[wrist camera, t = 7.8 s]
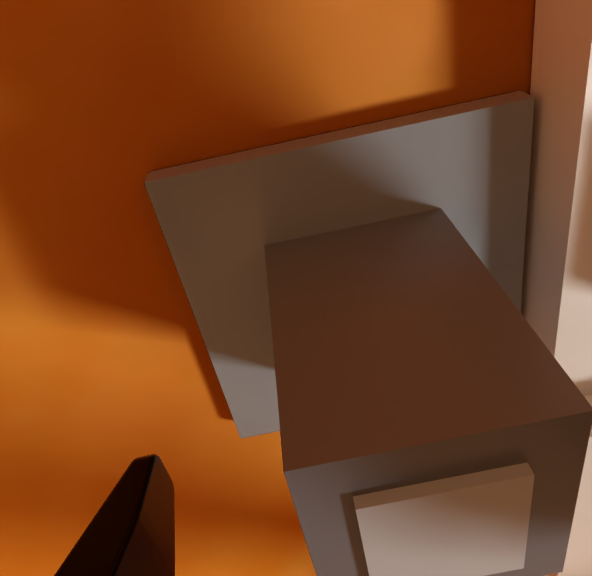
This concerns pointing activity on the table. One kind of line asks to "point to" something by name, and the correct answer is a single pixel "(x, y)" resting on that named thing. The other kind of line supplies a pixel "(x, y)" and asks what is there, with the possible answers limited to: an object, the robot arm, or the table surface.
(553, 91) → the power strip
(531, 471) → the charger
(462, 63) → the table surface
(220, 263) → the coaster
